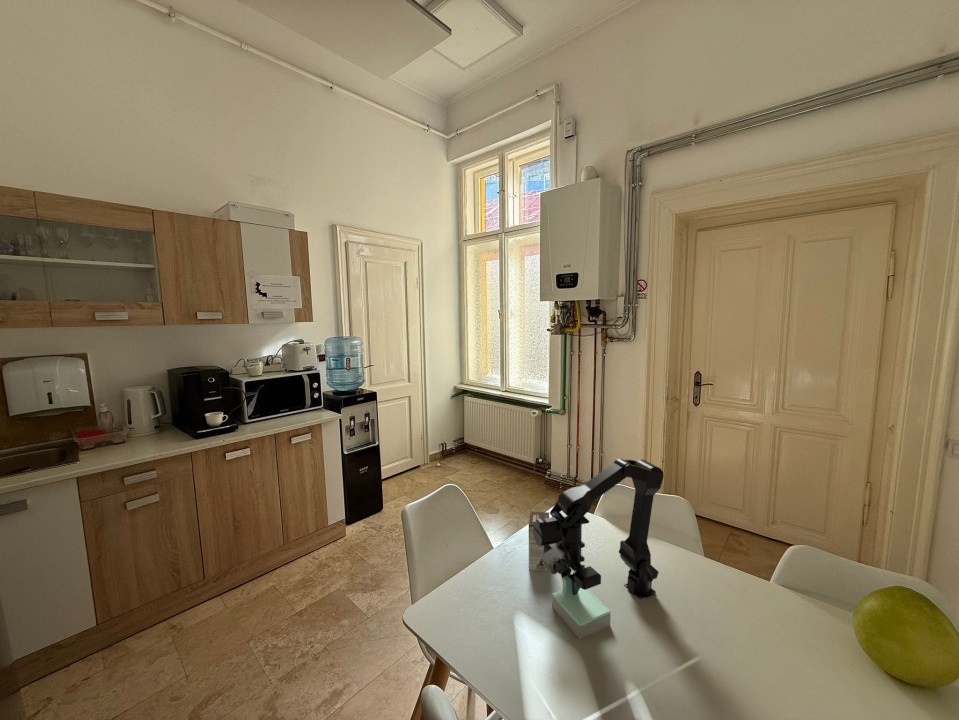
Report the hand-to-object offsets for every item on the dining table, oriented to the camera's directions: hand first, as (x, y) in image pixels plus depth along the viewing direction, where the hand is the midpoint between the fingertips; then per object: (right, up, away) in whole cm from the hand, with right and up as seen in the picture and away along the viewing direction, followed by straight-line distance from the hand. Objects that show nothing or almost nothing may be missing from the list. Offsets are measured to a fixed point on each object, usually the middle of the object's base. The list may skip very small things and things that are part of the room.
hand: (570, 590), depth 111 cm
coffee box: (-6, -3, +20) cm, 21 cm away
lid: (+2, -2, -4) cm, 4 cm away
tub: (+2, -6, -3) cm, 7 cm away
